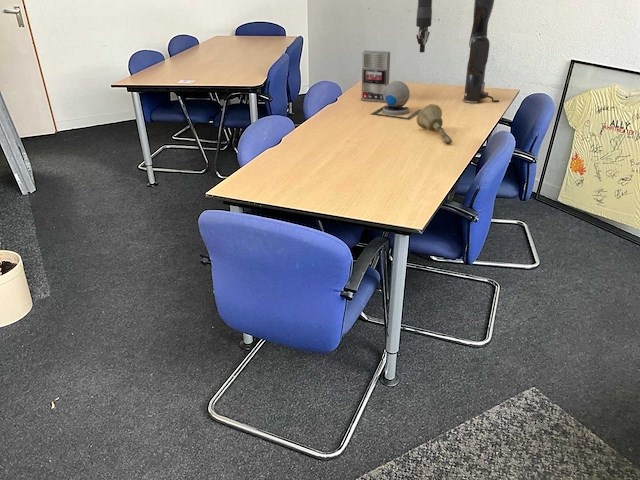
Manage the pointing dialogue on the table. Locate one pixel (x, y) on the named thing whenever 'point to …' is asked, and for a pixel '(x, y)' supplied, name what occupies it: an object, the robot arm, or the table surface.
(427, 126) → the handbell
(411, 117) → the tape bay
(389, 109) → the webcam
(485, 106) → the table surface
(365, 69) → the cassette tape recorder
